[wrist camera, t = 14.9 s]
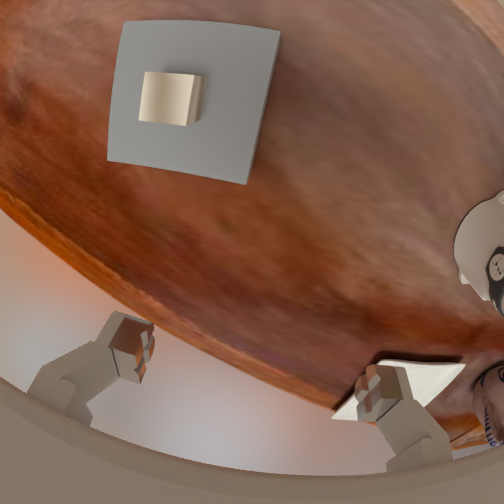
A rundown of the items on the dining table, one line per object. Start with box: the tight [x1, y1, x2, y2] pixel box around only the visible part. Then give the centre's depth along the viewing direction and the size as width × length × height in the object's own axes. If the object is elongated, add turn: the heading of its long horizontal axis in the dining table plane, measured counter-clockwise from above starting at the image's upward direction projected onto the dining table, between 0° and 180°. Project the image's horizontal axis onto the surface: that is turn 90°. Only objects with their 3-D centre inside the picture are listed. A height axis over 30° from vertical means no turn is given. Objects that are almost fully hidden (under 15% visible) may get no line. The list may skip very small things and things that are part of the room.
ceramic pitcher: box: [473, 366, 504, 448], centre depth 49 cm, size 18×21×25 cm
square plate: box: [331, 359, 465, 420], centre depth 60 cm, size 27×27×4 cm
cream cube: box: [139, 72, 208, 126], centre depth 26 cm, size 5×5×5 cm
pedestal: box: [107, 20, 281, 185], centre depth 30 cm, size 18×18×6 cm
